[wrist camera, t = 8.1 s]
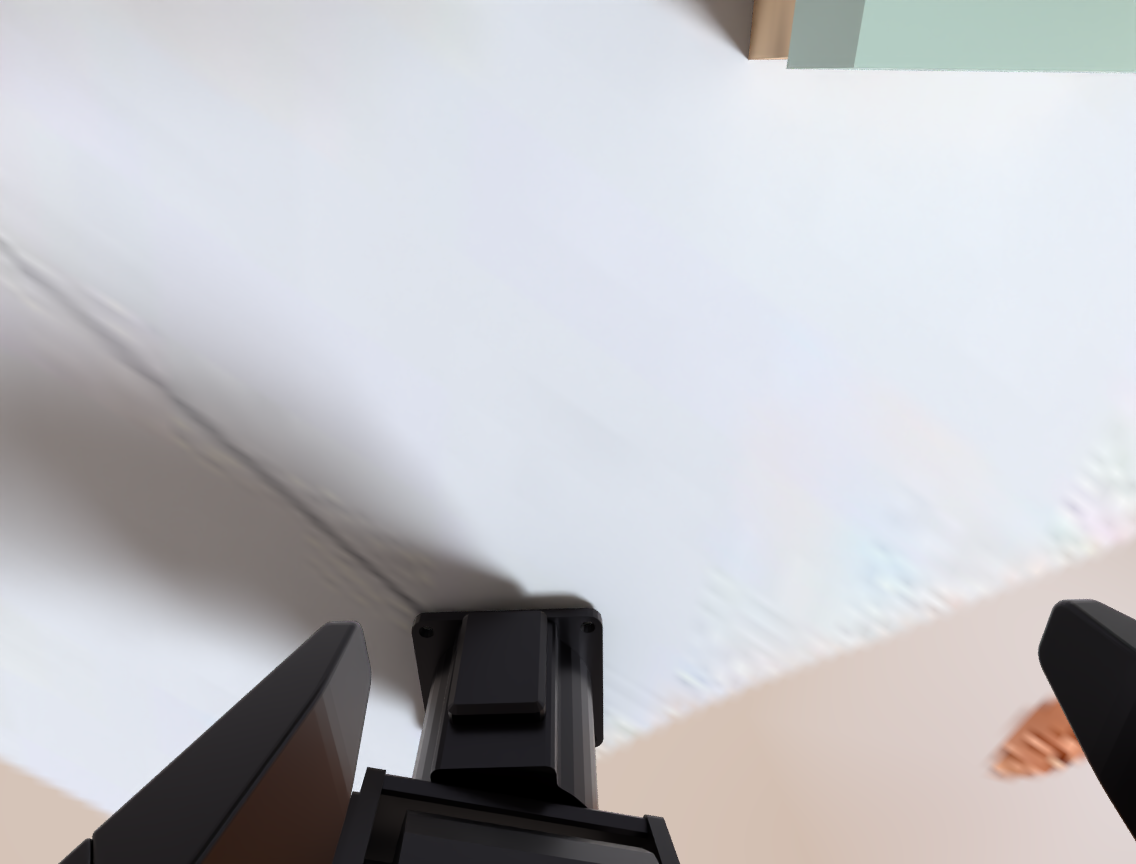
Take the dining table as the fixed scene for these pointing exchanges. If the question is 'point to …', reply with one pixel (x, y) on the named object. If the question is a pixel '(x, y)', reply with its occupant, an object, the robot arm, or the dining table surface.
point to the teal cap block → (965, 35)
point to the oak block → (771, 29)
